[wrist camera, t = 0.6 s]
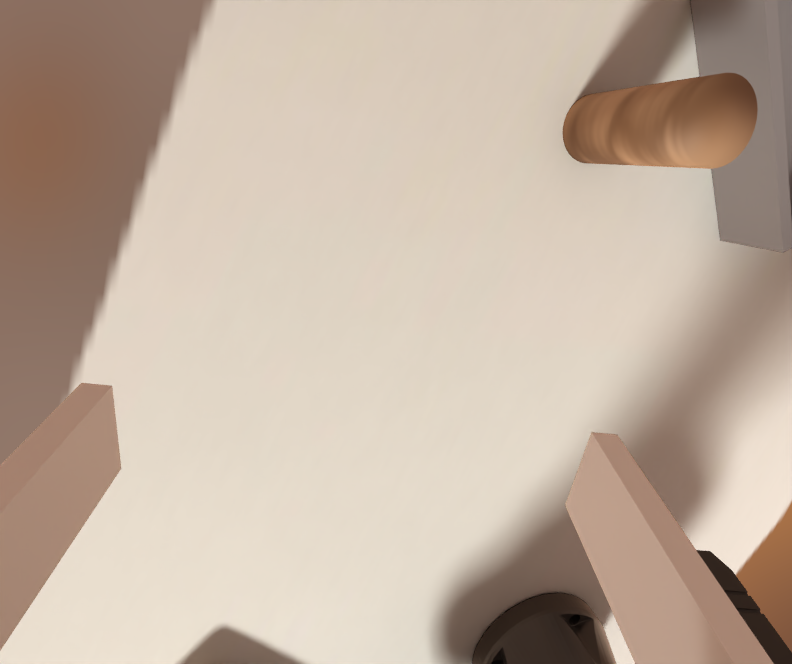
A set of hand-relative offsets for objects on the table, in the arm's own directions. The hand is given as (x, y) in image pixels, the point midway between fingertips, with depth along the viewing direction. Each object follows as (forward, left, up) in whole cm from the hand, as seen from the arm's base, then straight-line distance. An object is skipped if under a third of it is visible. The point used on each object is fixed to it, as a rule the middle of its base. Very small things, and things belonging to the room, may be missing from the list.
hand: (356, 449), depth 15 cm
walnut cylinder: (0, -25, -25) cm, 36 cm away
